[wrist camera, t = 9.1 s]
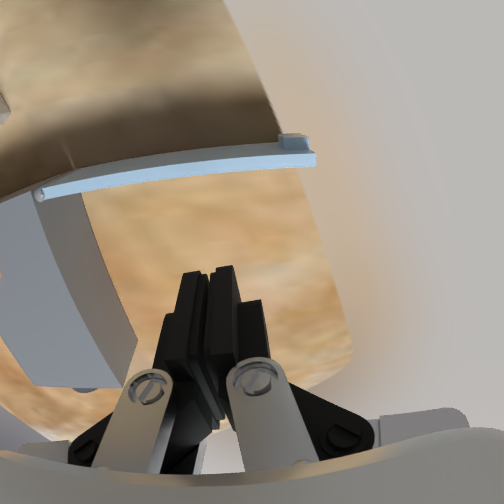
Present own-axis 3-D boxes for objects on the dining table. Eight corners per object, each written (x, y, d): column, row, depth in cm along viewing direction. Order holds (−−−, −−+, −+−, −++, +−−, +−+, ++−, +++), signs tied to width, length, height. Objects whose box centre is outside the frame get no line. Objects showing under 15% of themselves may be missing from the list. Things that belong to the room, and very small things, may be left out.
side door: (72, 160, 23) (30, 179, 17) (294, 131, 23) (315, 140, 17) (76, 179, 24) (35, 203, 18) (295, 152, 24) (316, 168, 18)
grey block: (73, 169, 24) (24, 194, 17) (143, 350, 33) (127, 404, 26) (-10, 202, 24) (-57, 231, 17) (62, 355, 33) (39, 400, 26)
